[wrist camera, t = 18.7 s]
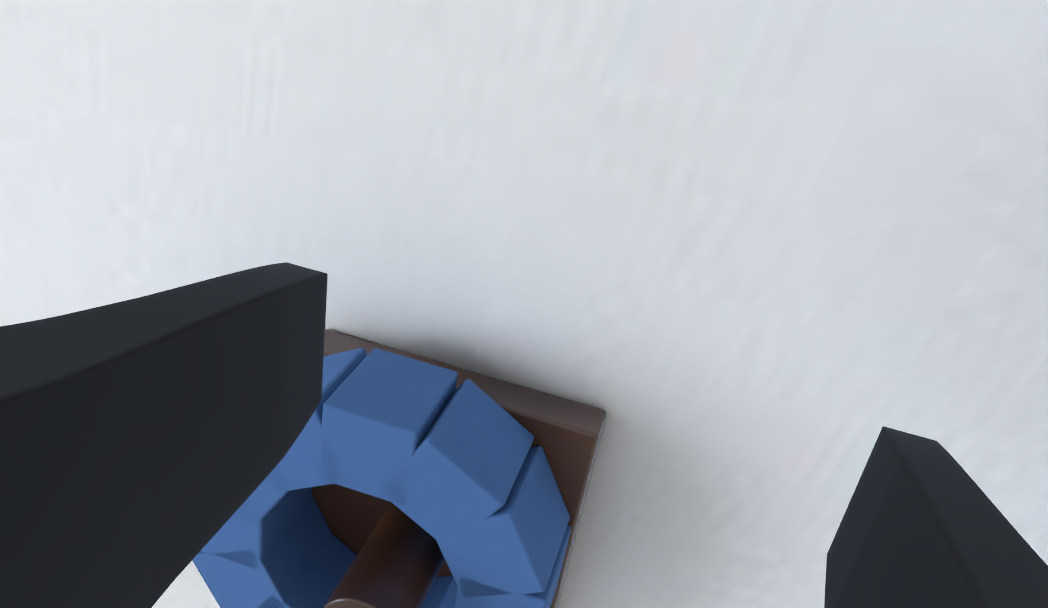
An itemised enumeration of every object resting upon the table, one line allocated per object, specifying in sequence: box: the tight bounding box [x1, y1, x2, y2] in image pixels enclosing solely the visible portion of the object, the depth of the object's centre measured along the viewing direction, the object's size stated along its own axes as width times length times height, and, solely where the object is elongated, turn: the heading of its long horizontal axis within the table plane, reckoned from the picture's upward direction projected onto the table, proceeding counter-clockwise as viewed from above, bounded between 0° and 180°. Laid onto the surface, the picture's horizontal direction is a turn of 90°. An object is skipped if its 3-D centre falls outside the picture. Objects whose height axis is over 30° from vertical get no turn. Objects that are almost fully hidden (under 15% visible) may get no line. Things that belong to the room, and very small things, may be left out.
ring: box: [193, 348, 571, 608], centre depth 22 cm, size 10×10×3 cm
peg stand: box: [312, 329, 606, 608], centre depth 22 cm, size 8×8×6 cm
